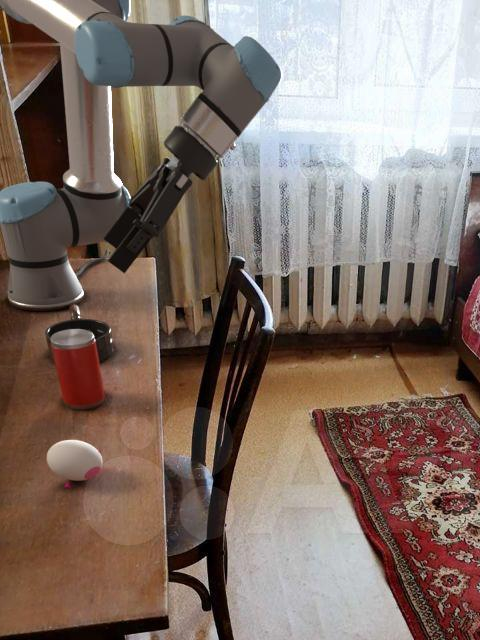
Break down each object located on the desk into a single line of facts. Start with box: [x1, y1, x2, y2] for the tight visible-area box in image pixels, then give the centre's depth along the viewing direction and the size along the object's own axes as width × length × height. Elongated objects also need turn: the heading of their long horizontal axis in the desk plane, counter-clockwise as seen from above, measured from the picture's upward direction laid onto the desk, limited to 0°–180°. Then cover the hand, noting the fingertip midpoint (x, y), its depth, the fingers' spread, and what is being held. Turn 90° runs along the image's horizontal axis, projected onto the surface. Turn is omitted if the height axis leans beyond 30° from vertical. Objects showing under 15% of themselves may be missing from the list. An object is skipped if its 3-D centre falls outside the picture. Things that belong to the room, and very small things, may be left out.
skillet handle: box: [69, 304, 83, 320], centre depth 131 cm, size 8×2×2 cm, turn 23°
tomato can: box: [51, 329, 106, 411], centre depth 108 cm, size 7×7×12 cm
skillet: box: [44, 318, 115, 363], centre depth 125 cm, size 11×11×4 cm
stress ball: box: [46, 439, 104, 489], centre depth 93 cm, size 8×8×7 cm
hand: (113, 255), depth 101 cm, fingers open, 13 cm apart
